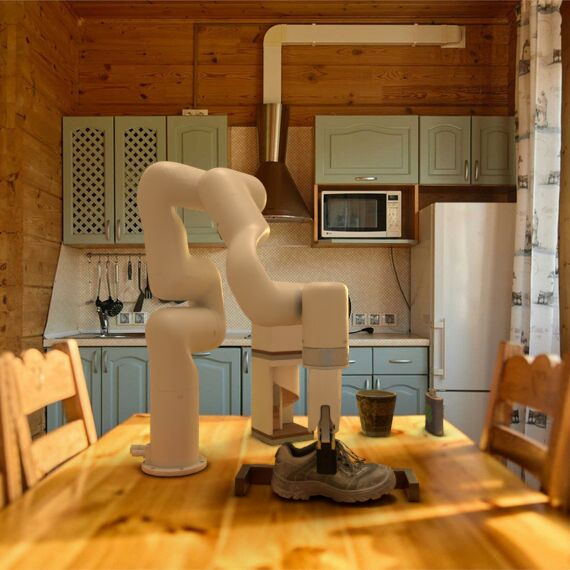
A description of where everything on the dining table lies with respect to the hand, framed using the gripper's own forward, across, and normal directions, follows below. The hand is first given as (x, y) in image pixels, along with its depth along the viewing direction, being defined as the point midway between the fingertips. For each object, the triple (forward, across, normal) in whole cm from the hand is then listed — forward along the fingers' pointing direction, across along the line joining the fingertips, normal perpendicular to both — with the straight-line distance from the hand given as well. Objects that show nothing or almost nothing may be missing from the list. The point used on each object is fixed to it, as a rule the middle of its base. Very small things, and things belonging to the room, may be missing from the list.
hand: (326, 472), depth 87 cm
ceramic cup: (+5, -47, +10) cm, 48 cm away
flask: (+6, -52, +25) cm, 58 cm away
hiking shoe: (+5, -4, +1) cm, 7 cm away
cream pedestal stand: (+5, -42, -12) cm, 44 cm away
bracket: (+5, -8, 0) cm, 9 cm away
